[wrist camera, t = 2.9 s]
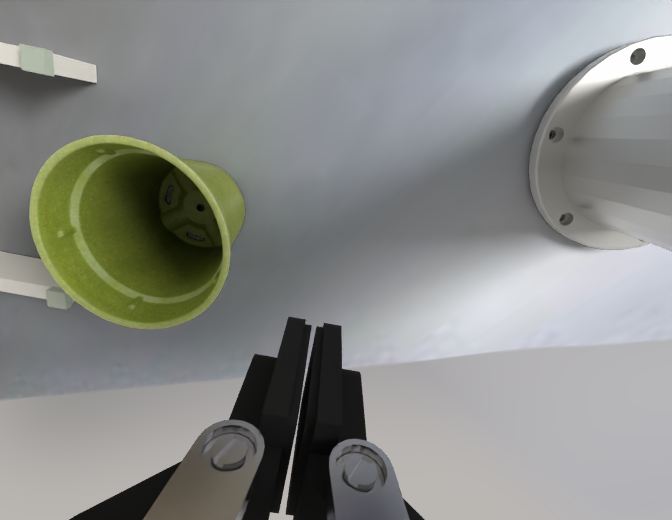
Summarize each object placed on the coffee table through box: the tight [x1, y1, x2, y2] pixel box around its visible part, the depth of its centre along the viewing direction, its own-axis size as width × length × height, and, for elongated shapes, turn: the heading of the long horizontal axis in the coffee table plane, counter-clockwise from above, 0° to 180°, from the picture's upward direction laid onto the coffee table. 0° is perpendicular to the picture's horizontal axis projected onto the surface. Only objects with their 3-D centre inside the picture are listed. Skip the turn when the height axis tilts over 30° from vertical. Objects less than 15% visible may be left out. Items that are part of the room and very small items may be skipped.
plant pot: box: [29, 135, 245, 329], centre depth 20 cm, size 9×9×9 cm
